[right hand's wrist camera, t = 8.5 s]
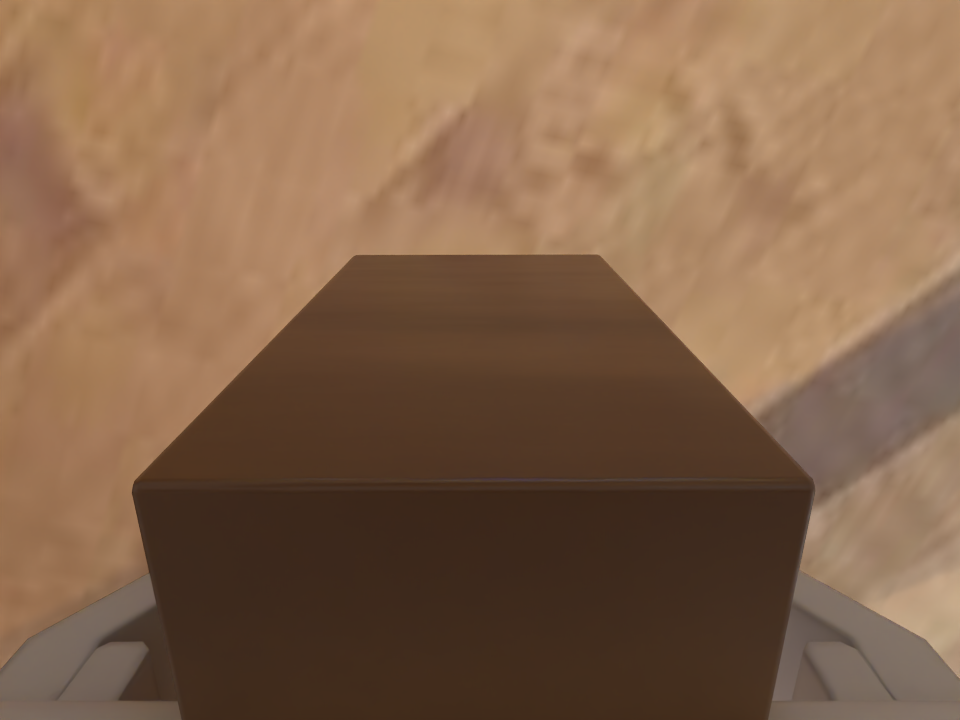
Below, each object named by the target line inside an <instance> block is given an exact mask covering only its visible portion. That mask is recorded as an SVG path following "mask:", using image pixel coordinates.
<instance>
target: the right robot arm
mask: <svg viewBox="0 0 960 720" xmlns="http://www.w3.org/2000/svg"><path fill="white" fill-rule="evenodd" d="M0 720H182V719H181V715H180V710H179V706H178V701H177V697H176V692H175V687H174V683H173V678H172V674H171V669H170V665H169V660H168V655H167V651H166V646H165V642H164V637H163V633H162V628H161V623H160V619H159V614H158V610H157V605H156V601H155V596H154V591H153V587H152V582H151V578H150V573H148V574H146V575H144V576H142V577H141V578H139V579H137V580H135V581H133V582H131V583H130V584H128V585H126V586H124V587H122V588H120V589H119V590H117V591H115V592H113V593H111V594H109V595H108V596H106V597H104V598H102V599H100V600H98V601H97V602H95V603H93V604H91V605H89V606H87V607H85V608H84V609H82V610H80V611H78V612H76V613H74V614H73V615H71V616H69V617H67V618H65V619H63V620H62V621H60V622H58V623H56V624H54V625H52V626H51V627H49V628H47V629H45V630H43V631H41V632H40V633H38V634H36V635H34V636H32V637H30V638H29V639H27V640H26V641H25V643H24V644H23V645H22V646H21V647H20V648H19V649H18V651H17V652H16V653H15V654H14V655H13V656H12V657H11V658H10V660H9V661H8V662H7V663H6V664H5V665H4V666H3V667H2V669H1V670H0ZM768 720H960V679H959V678H958V677H957V676H956V674H955V673H954V672H953V671H952V670H951V669H950V667H949V666H948V665H947V664H946V663H945V662H944V660H943V659H942V658H941V657H940V656H939V655H938V654H937V652H936V651H935V650H934V649H933V648H932V647H931V645H930V644H929V643H928V642H927V641H926V640H925V639H923V638H921V637H920V636H918V635H916V634H914V633H912V632H910V631H909V630H907V629H905V628H903V627H901V626H900V625H898V624H896V623H894V622H892V621H891V620H889V619H887V618H885V617H883V616H881V615H880V614H878V613H876V612H874V611H872V610H871V609H869V608H867V607H865V606H863V605H861V604H860V603H858V602H856V601H854V600H852V599H851V598H849V597H847V596H845V595H843V594H842V593H840V592H838V591H836V590H834V589H832V588H831V587H829V586H827V585H825V584H823V583H822V582H820V581H818V580H816V579H814V578H813V577H811V576H809V575H807V574H805V573H803V572H802V571H800V570H799V572H798V577H797V582H796V587H795V591H794V596H793V601H792V606H791V611H790V616H789V621H788V625H787V630H786V635H785V640H784V645H783V650H782V655H781V659H780V664H779V669H778V674H777V679H776V684H775V688H774V693H773V698H772V703H771V708H770V713H769V718H768Z"/></svg>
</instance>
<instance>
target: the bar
mask: <svg viewBox="0 0 960 720" xmlns="http://www.w3.org/2000/svg"><path fill="white" fill-rule="evenodd" d="M132 495H133V500H134V504H135V509H136V514H137V518H138V523H139V527H140V532H141V536H142V541H143V546H144V550H145V555H146V559H147V564H148V569H149V573H150V578H151V582H152V587H153V591H154V596H155V601H156V605H157V610H158V614H159V619H160V623H161V628H162V633H163V637H164V642H165V646H166V651H167V655H168V660H169V665H170V669H171V674H172V678H173V683H174V687H175V692H176V697H177V701H178V706H179V710H180V715H181V719H182V720H768V718H769V713H770V708H771V703H772V698H773V693H774V688H775V684H776V679H777V674H778V669H779V664H780V659H781V655H782V650H783V645H784V640H785V635H786V630H787V625H788V621H789V616H790V611H791V606H792V601H793V596H794V591H795V587H796V582H797V577H798V572H799V567H800V562H801V558H802V553H803V548H804V543H805V538H806V533H807V528H808V524H809V519H810V514H811V509H812V504H813V499H814V495H815V486H814V482H813V479H812V478H811V477H810V476H809V475H808V474H807V473H806V472H805V471H804V470H803V469H802V468H801V466H800V465H799V464H798V463H797V462H796V461H795V460H794V459H793V458H792V457H791V456H790V455H789V454H788V453H787V452H786V451H785V450H784V449H783V448H782V446H781V445H780V444H779V443H778V442H777V441H776V440H775V439H774V438H773V437H772V436H771V435H770V434H769V433H768V432H767V431H766V430H765V429H764V428H763V427H762V425H761V424H760V423H759V422H758V421H757V420H756V419H755V418H754V417H753V416H752V415H751V414H750V413H749V412H748V411H747V410H746V409H745V408H744V407H743V405H742V404H741V403H740V402H739V401H738V400H737V399H736V398H735V397H734V396H733V395H732V394H731V393H730V392H729V391H728V390H727V389H726V388H725V387H724V386H723V384H722V383H721V382H720V381H719V380H718V379H717V378H716V377H715V376H714V375H713V374H712V373H711V372H710V371H709V370H708V369H707V368H706V367H705V366H704V364H703V363H702V362H701V361H700V360H699V359H698V358H697V357H696V356H695V355H694V354H693V353H692V352H691V351H690V350H689V349H688V348H687V347H686V346H685V345H684V343H683V342H682V341H681V340H680V339H679V338H678V337H677V336H676V335H675V334H674V333H673V332H672V331H671V330H670V329H669V328H668V327H667V326H666V325H665V323H664V322H663V321H662V320H661V319H660V318H659V317H658V316H657V315H656V314H655V313H654V312H653V311H652V310H651V309H650V308H649V307H648V306H647V305H646V304H645V302H644V301H643V300H642V299H641V298H640V297H639V296H638V295H637V294H636V293H635V292H634V291H633V290H632V289H631V288H630V287H629V286H628V285H627V284H626V282H625V281H624V280H623V279H622V278H621V277H620V276H619V275H618V274H617V273H616V272H615V271H614V270H613V269H612V268H611V267H610V266H609V265H608V264H607V263H606V261H605V260H604V259H603V258H602V257H601V256H599V255H356V256H354V257H353V258H352V259H351V260H350V261H349V262H348V263H347V264H346V265H345V266H344V267H343V268H342V269H341V270H340V271H339V272H338V273H337V274H336V275H335V276H334V277H333V278H332V279H331V280H330V281H329V282H328V283H327V284H326V285H325V286H324V287H323V288H322V289H321V290H320V291H319V292H318V293H317V294H316V295H315V297H314V298H313V299H312V300H311V301H310V302H309V303H308V304H307V305H306V306H305V307H304V308H303V309H302V310H301V311H300V312H299V313H298V314H297V315H296V316H295V317H294V318H293V319H292V320H291V321H290V322H289V323H288V324H287V325H286V326H285V327H284V328H283V329H282V330H281V331H280V332H279V333H278V334H277V335H276V336H275V338H274V339H273V340H272V341H271V342H270V343H269V344H268V345H267V346H266V347H265V348H264V349H263V350H262V351H261V352H260V353H259V354H258V355H257V356H256V357H255V358H254V359H253V360H252V361H251V362H250V363H249V364H248V365H247V366H246V367H245V368H244V369H243V370H242V371H241V372H240V373H239V374H238V375H237V376H236V377H235V379H234V380H233V381H232V382H231V383H230V384H229V385H228V386H227V387H226V388H225V389H224V390H223V391H222V392H221V393H220V394H219V395H218V396H217V397H216V398H215V399H214V400H213V401H212V402H211V403H210V404H209V405H208V406H207V407H206V408H205V409H204V410H203V411H202V412H201V413H200V414H199V415H198V416H197V417H196V418H195V420H194V421H193V422H192V423H191V424H190V425H189V426H188V427H187V428H186V429H185V430H184V431H183V432H182V433H181V434H180V435H179V436H178V437H177V438H176V439H175V440H174V441H173V442H172V443H171V444H170V445H169V446H168V447H167V448H166V449H165V450H164V451H163V452H162V453H161V454H160V455H159V456H158V457H157V458H156V459H155V461H154V462H153V463H152V464H151V465H150V466H149V467H148V468H147V469H146V470H145V471H144V472H143V473H142V474H141V475H140V476H139V477H138V478H137V479H136V480H135V481H134V484H133V489H132Z"/></svg>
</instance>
